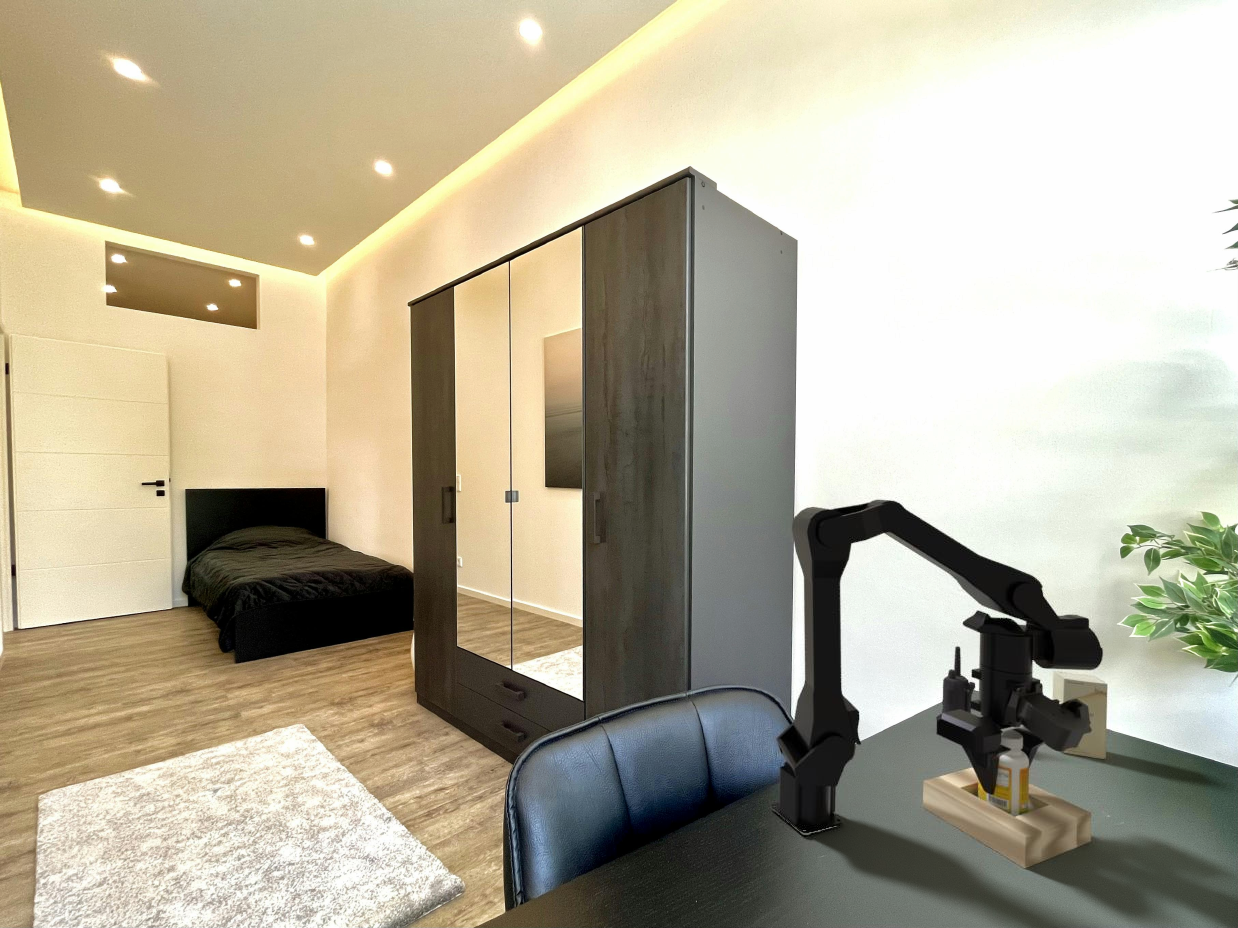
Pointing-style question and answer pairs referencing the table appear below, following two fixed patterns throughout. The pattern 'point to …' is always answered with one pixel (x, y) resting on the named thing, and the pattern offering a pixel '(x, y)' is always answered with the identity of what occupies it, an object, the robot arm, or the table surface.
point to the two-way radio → (957, 688)
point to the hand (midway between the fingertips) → (1003, 788)
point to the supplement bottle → (1010, 778)
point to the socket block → (1009, 819)
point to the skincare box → (1095, 698)
